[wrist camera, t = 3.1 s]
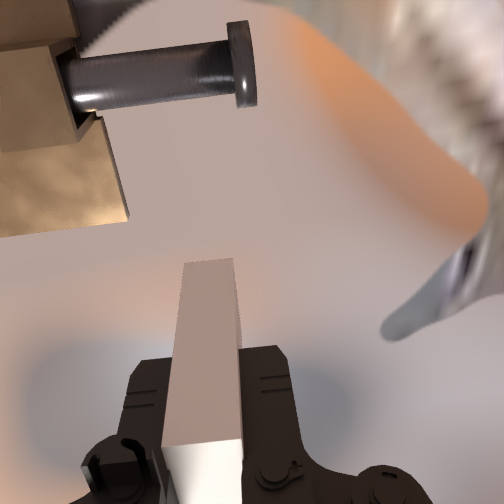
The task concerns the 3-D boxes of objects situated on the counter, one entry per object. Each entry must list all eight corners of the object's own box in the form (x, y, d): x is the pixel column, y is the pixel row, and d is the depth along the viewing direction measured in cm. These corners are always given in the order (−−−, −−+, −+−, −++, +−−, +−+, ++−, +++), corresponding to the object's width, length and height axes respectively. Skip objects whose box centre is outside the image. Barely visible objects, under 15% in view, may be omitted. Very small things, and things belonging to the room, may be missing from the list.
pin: (-98, 59, 29) (-150, 74, 24) (244, 16, 29) (250, 24, 25) (-63, 136, 31) (-104, 161, 27) (253, 96, 31) (259, 114, 27)
